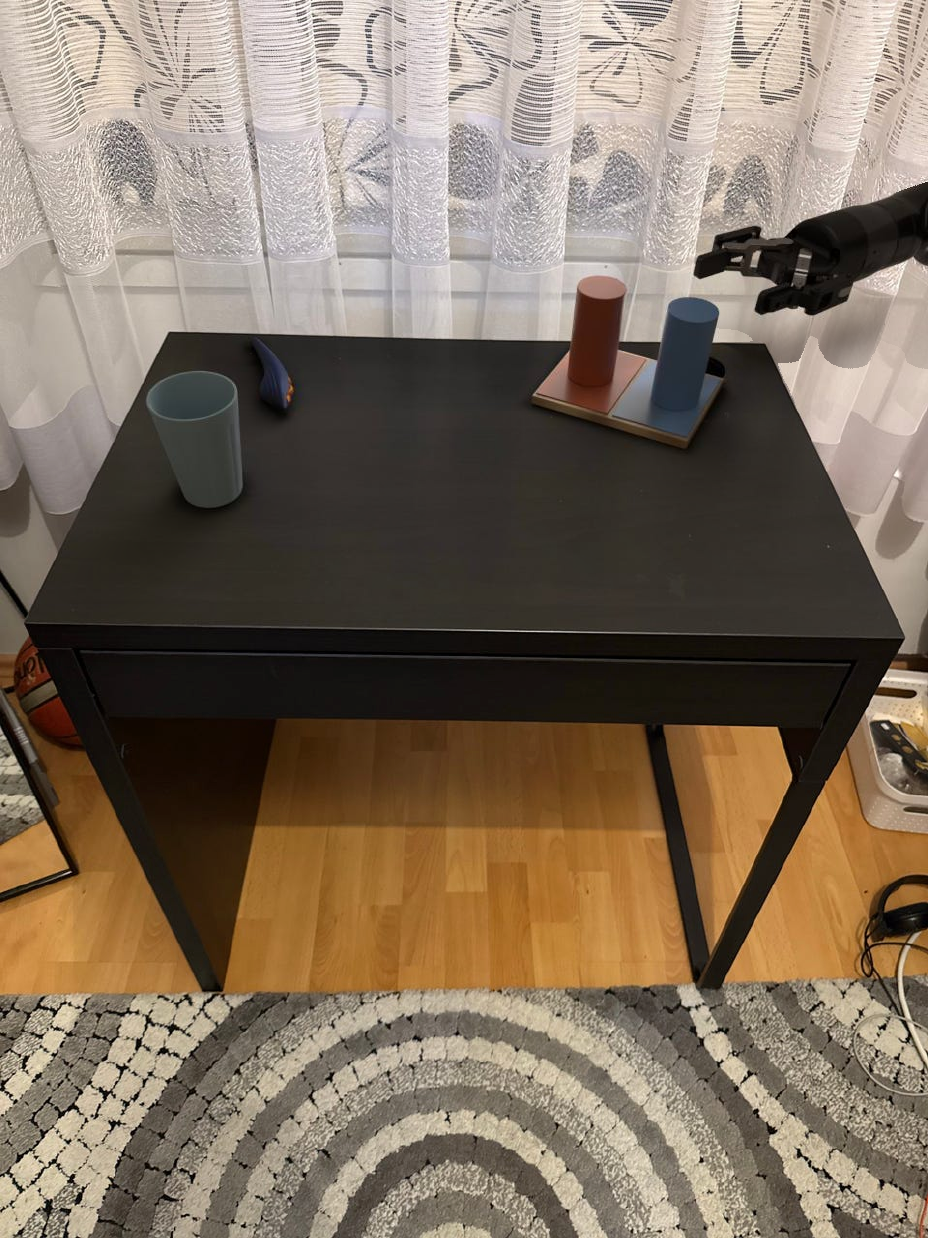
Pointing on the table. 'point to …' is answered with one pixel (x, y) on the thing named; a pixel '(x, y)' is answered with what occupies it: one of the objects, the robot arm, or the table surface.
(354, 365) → the table surface
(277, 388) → the tapered navy handle
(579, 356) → the rust canister
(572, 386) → the board
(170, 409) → the cup
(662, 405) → the blue canister
